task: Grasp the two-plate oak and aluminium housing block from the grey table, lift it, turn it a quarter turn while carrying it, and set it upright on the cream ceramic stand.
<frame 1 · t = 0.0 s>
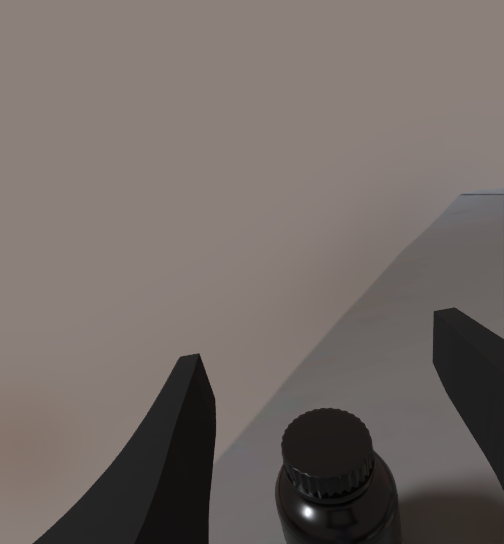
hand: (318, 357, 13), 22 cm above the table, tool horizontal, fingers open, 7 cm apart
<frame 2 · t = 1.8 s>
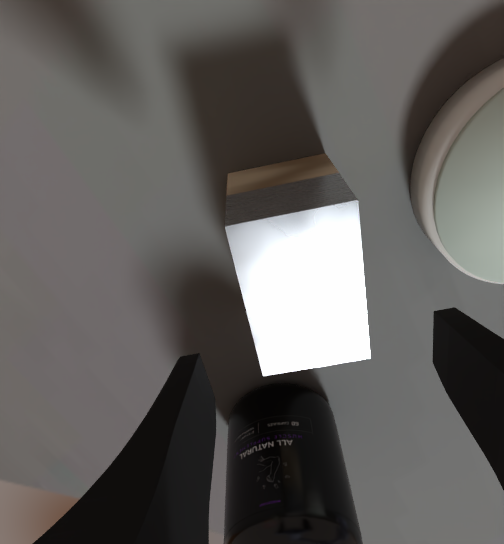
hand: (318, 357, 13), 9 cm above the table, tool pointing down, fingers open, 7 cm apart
supplement bottle: (279, 415, 28), on the table
housing block: (287, 231, 21), on the table
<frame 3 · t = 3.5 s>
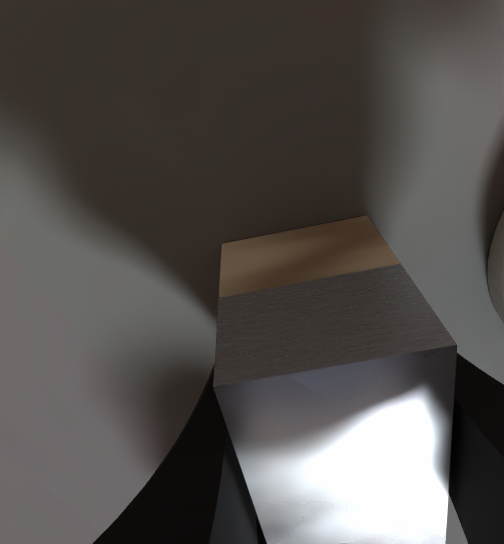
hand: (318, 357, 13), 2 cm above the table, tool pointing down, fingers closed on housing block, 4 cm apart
housing block: (308, 319, 15), on the table, touching gripper
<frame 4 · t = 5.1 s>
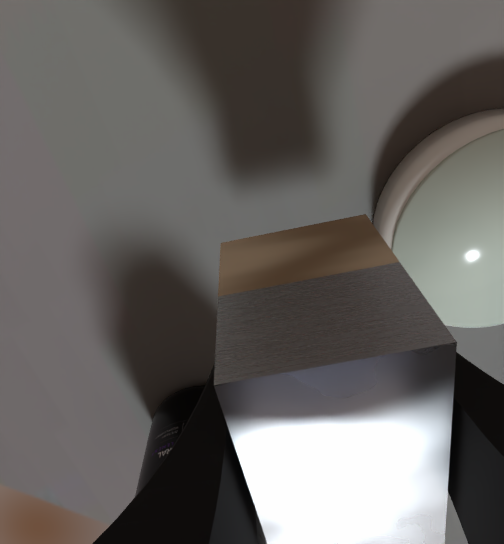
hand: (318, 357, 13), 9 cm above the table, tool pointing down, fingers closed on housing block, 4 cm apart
supplement bottle: (206, 417, 27), on the table
housing block: (307, 318, 15), point 7 cm above the table, touching gripper
stand: (475, 217, 21), on the table
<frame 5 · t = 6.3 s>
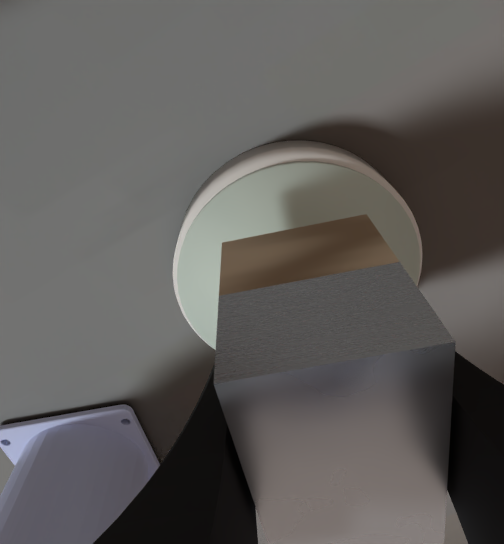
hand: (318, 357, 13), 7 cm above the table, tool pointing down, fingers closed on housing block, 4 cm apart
housing block: (308, 318, 15), point 5 cm above the table, touching gripper
stand: (291, 253, 19), on the table
when the fingers open (5 cm above the table, at t = 7.0 s): housing block stays where it is, resting on stand.
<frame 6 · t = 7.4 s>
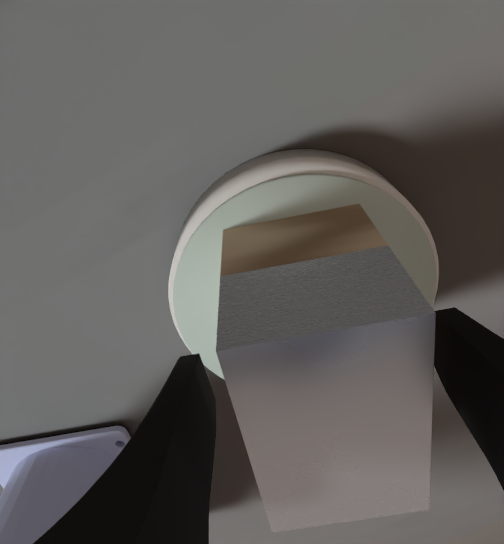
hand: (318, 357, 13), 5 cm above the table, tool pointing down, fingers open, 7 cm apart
housing block: (304, 303, 16), point 2 cm above the table, touching stand
stand: (296, 269, 18), on the table
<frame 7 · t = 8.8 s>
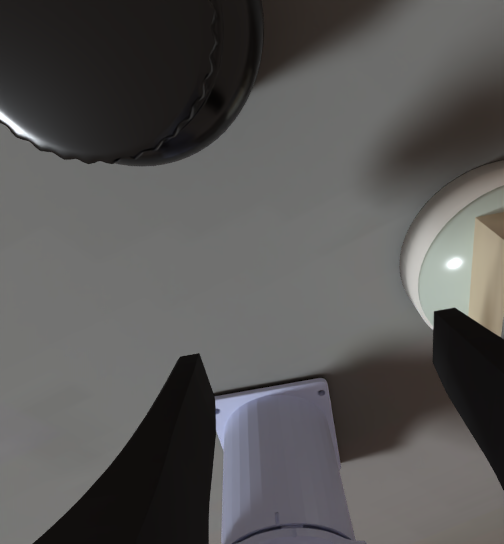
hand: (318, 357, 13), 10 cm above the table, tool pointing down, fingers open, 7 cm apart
supplement bottle: (172, 30, 18), on the table
stand: (490, 249, 23), on the table
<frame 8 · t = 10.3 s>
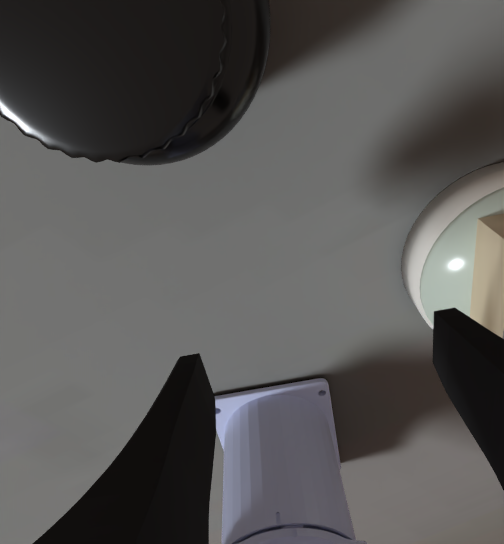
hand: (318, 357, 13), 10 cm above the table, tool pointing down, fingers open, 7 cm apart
supplement bottle: (176, 29, 18), on the table
stand: (492, 250, 23), on the table
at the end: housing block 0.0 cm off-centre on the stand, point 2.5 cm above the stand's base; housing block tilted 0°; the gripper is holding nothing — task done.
